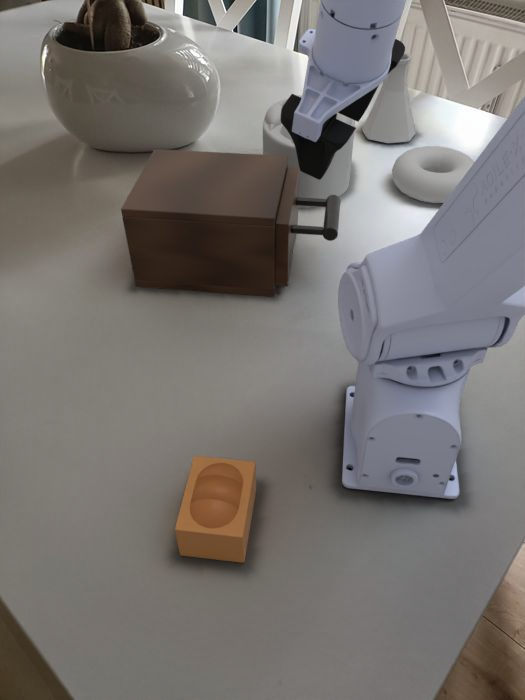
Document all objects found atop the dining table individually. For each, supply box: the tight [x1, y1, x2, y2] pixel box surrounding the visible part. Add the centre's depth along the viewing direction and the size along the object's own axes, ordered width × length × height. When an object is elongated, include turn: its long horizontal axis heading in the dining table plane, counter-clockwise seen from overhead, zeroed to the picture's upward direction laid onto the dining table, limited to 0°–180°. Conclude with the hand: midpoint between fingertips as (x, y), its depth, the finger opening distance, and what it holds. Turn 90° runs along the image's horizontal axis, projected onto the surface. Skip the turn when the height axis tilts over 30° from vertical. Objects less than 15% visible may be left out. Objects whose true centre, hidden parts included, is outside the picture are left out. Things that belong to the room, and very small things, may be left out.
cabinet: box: [120, 148, 288, 297], centre depth 61 cm, size 14×12×9 cm
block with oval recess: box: [174, 455, 257, 564], centre depth 40 cm, size 6×4×4 cm
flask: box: [361, 52, 417, 144], centre depth 81 cm, size 7×7×10 cm
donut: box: [391, 145, 475, 204], centre depth 72 cm, size 10×4×10 cm
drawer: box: [275, 167, 341, 287], centre depth 60 cm, size 17×10×7 cm, turn 82°
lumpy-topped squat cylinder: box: [262, 94, 356, 209], centre depth 72 cm, size 10×13×9 cm
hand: (331, 143), depth 55 cm, fingers open, 7 cm apart
